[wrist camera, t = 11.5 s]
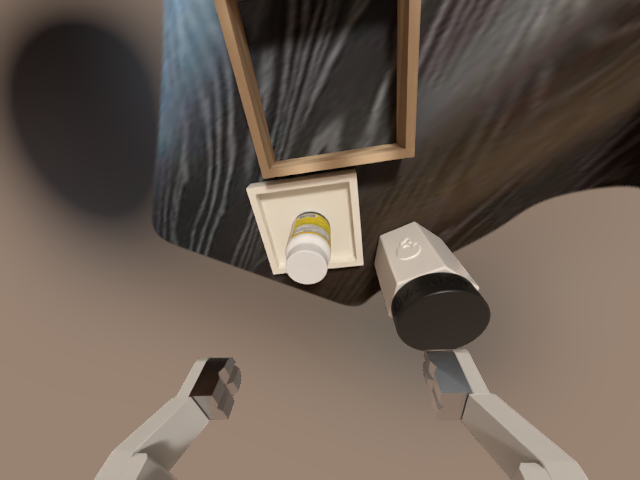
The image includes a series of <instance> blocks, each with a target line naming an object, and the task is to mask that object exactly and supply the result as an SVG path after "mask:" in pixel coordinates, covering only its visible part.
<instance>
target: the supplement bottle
mask: <svg viewBox="0 0 640 480" xmlns="http://www.w3.org/2000/svg"><path fill="white" fill-rule="evenodd" d="M285 255H286V259H287V260H286V271H287V273H288V275H289V276H290V277H291V278H292V279H293V280H294V281H296V282H298V283H301V284H314V283H317V282H319V281H320V280H322V279H323V278H324V277H325V275H326V273H327V268H328V263H329V261H330V258H331V229H330V223H329V221H328V219H327V218H326V217H325V216H324V215H323V214H321V213H319V212H316V211H305V212H302V213H300V214H299V215H298V216H297V217H296V218H295V219H294V221H293V224H292V228H291V231H290V235H289V239H288V242H287V246H286V250H285Z"/></svg>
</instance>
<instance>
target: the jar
mask: <svg viewBox="0 0 640 480" xmlns="http://www.w3.org/2000/svg"><path fill="white" fill-rule="evenodd" d="M374 265H375V269H376V272H377V276H378V280H379V283H380V287H381V291H382V294H383V298H384V302H385V305H386V309H387V313H388V316H389V317H391V318H392V319H393V320H394V323H395V326H396V330H397V333H398V335H399V337H400V338H401V340H402V341H403V342H404V343H405V344H407V345H408V346H410V347H412V348H414V349H417V350H421V351H425V350H440V349H456V348H458V347H462V346H464V345H466V344H468V343H470V342H471V341H473V340H474V339H476V338H477V337H478V336H480V335H481V334H482V333H483V331H484V330H485V329H486V327H487V325H488V323H489V321H490V309H489V306H488V304H487V303H486V301H485V300H484V298H483V297H482V296H481V295H480V293H479V292H478V290H479V287H478V285H477V284H476V283H475V281H474V280H473V279H472V278H471V276H470V275H469V274H468V273H467V271H466V270H465V269H464V268H463V266H462V265H461V264H460V262H459V261H458V260H457V259H456V257H455V256H454V255H453V253H452V252H451V251H450V250H449V248H448V247H447V246H446V245H445V243H444V242H443V241H442V240H441V239H440V238H439V237H437V236H436V235H434V234H433V233H431V232H430V231H428V230H427V229H425V228H424V227H422V226H421V225H419V224H418V223H416V222H412V223H410V224H407V225H405V226H403V227H400V228H398V229H395V230H393V231H390V232H388V233H385V234H383V235H381V236H380V237H379V242H378V247H377V253H376V258H375V263H374Z"/></svg>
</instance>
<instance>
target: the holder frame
mask: <svg viewBox="0 0 640 480" xmlns="http://www.w3.org/2000/svg"><path fill="white" fill-rule="evenodd" d="M241 1H245V0H214V2H215V6H216V10H217V13H218V17H219V20H220V24H221V28H222V31H223V35H224V38H225V42H226V46H227V49H228V53H229V57H230V60H231V64H232V67H233V71H234V75H235V78H236V82H237V86H238V89H239V93H240V96H241V100H242V104H243V107H244V111H245V115H246V118H247V122H248V125H249V129H250V133H251V136H252V140H253V143H254V147H255V151H256V154H257V158H258V162H259V165H260V169H261V172H262V176H263V179H266V178H273V177H280V176H287V175H293V174H300V173H307V172H314V171H320V170H327V169H334V168H341V167H348V166H354V165H361V164H368V163H375V162H382V161H388V160H395V159H402V158H409V157H414V152H415V129H416V105H417V82H418V58H419V34H420V11H421V0H397V143H393V144H386V145H380V146H373V147H367V148H360V149H354V150H347V151H341V152H334V153H328V154H321V155H315V156H308V157H302V158H295V159H289V160H282V161H276V160H275V156H274V152H273V148H272V144H271V139H270V135H269V131H268V127H267V123H266V119H265V114H264V110H263V106H262V102H261V98H260V94H259V90H258V85H257V81H256V77H255V73H254V69H253V65H252V60H251V56H250V52H249V48H248V44H247V40H246V36H245V31H244V27H243V23H242V19H241V15H240V11H239V6H238V2H241Z"/></svg>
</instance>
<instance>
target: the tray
mask: <svg viewBox="0 0 640 480" xmlns="http://www.w3.org/2000/svg"><path fill="white" fill-rule="evenodd" d="M246 190H247V193H248V196H249V199H250V202H251V205H252V209H253V212H254V215H255V218H256V221H257V224H258V227H259V231H260V234H261V237H262V240H263V243H264V246H265V249H266V252H267V256H268V259H269V262H270V265H271V268H272V271H273V274H282V273H287V271H286V260H287V259H286V255H285V250H286V246H287V242H288V239H289V235H290V231H291V228H292V224H293V221H294V219H295V218H296V217H297V216H298V215H299V214H300V213H302V212H305V211H316V212H319V213H321V214H323V215H324V216H325V217H326V218H327V219H328V221H329V223H330V229H331V258H330V261H329V263H328V268H327V269H331V268H341V267H350V266H360V265H363V252H362V239H361V226H360V213H359V200H358V187H357V175H356V170H355V168H354V169H347V170H340V171H334V172H327V173H320V174H313V175H306V176H299V177H292V178H286V179H279V180H272V181H265V182H258V183H251V184H250V185H249V186H248V187H247V188H246Z"/></svg>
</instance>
